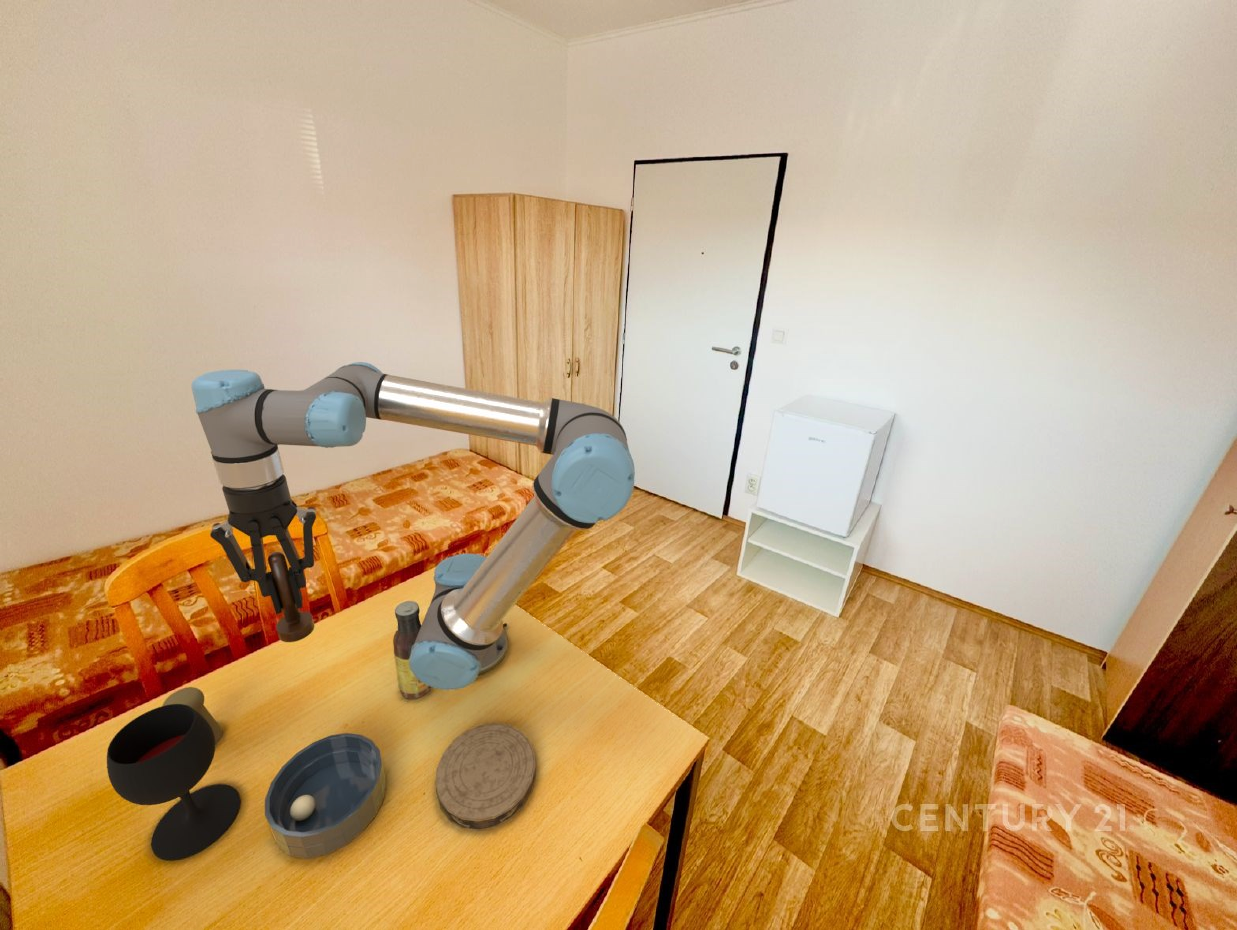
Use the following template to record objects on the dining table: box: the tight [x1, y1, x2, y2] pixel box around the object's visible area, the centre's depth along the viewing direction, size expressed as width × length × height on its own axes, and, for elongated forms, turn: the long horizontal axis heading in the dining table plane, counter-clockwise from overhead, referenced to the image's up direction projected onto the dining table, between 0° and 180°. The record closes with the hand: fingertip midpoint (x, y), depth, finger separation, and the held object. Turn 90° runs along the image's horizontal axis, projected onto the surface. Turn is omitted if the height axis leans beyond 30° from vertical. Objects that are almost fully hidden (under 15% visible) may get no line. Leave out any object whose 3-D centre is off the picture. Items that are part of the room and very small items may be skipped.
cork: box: [162, 686, 223, 746], centre depth 81 cm, size 6×6×11 cm
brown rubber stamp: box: [267, 551, 315, 643], centre depth 79 cm, size 5×5×16 cm
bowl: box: [264, 732, 387, 859], centre depth 75 cm, size 15×15×6 cm
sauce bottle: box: [392, 600, 432, 700], centre depth 92 cm, size 6×6×20 cm
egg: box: [290, 795, 315, 821], centre depth 73 cm, size 3×3×3 cm
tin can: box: [434, 722, 536, 832], centre depth 81 cm, size 16×16×3 cm
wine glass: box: [106, 704, 242, 862], centre depth 68 cm, size 10×10×20 cm
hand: (289, 605), depth 80 cm, fingers closed on brown rubber stamp, 2 cm apart
